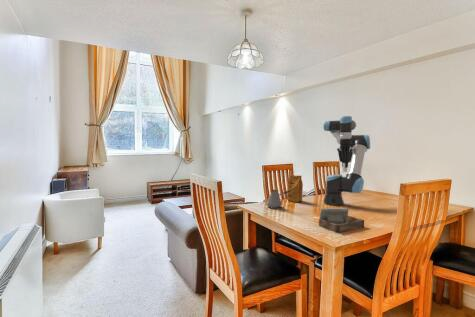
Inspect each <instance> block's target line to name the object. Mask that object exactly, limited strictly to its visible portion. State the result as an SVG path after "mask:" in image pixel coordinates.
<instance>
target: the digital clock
mask: <svg viewBox="0 0 475 317" xmlns="http://www.w3.org/2000/svg"><path fill="white" fill-rule="evenodd" d="M347 216H349V209H348V208H335V207H333V208H329V207H328V208H327V207H326V208H325V207H324V208H323V207H322V208H321V209H320V213H319V219H323V220H325V221H328V222H331V223H334V224H337V225H338V224H343V223H347V222H346V221H347Z"/></svg>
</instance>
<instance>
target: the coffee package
mask: <svg viewBox="0 0 475 317" xmlns="http://www.w3.org/2000/svg"><path fill="white" fill-rule="evenodd" d="M303 183H304V182H303V179H302V175H293V174H289V177H288V183H287V190H286V191H290V190H292V191H293V193H292V191H290V192H288V193H286V195H287V196H286V198H287V199H286V200H288V201H287V202H292V203H299V202H302V201H303V192H304V191H303V188H304V186H303Z"/></svg>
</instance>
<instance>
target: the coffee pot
mask: <svg viewBox="0 0 475 317" xmlns="http://www.w3.org/2000/svg"><path fill="white" fill-rule="evenodd" d="M269 191H270V194H269V196H268V199H267V201H266V206H268V207H269V208H270V207H272V208H271V209H279V208H280V207H282V205H283V203H282V200H281V198H280V196H281V195H284V194H287V193H288V192H290V191H292V190H290V191H287V190H285V191H283V192H281V193H279V192H280V190H278V189H270V190H269ZM292 193H293V191H292ZM278 207H279V208H278Z"/></svg>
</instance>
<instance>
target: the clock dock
mask: <svg viewBox="0 0 475 317" xmlns="http://www.w3.org/2000/svg"><path fill="white" fill-rule="evenodd" d="M318 227H321V228H323V229H326V230H328V231H331V232H333V233H336V234H339V233H343V232H349V231H353V230H357V229H362V228H364V227H365V220H364V219H362V218H359V217H356V216H355V217H354V216H351V215H348V216H347V221H346V223H343V224H338V225H337V224H334V223H331V222H328V221H325V220H323V219H320V218H319V219H318Z"/></svg>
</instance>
